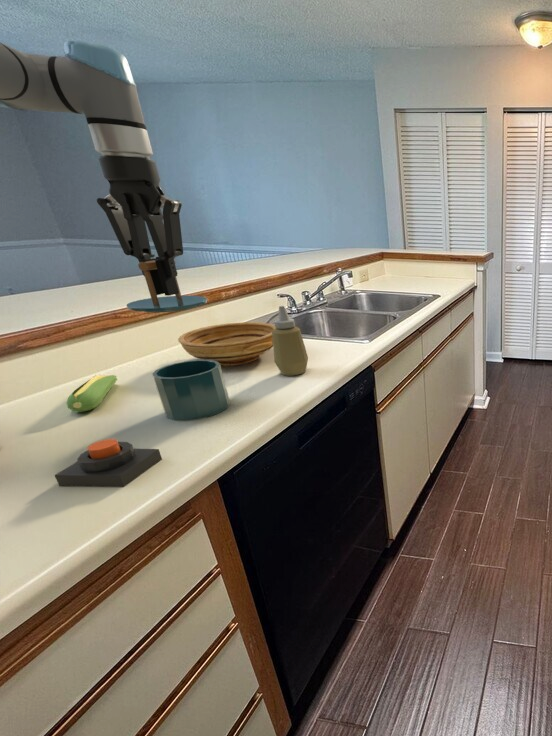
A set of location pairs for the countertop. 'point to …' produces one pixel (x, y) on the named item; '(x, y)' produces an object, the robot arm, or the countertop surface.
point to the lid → (162, 303)
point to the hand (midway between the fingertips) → (166, 293)
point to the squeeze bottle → (288, 346)
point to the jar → (191, 389)
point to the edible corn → (90, 393)
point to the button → (103, 448)
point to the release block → (109, 468)
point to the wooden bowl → (229, 342)
